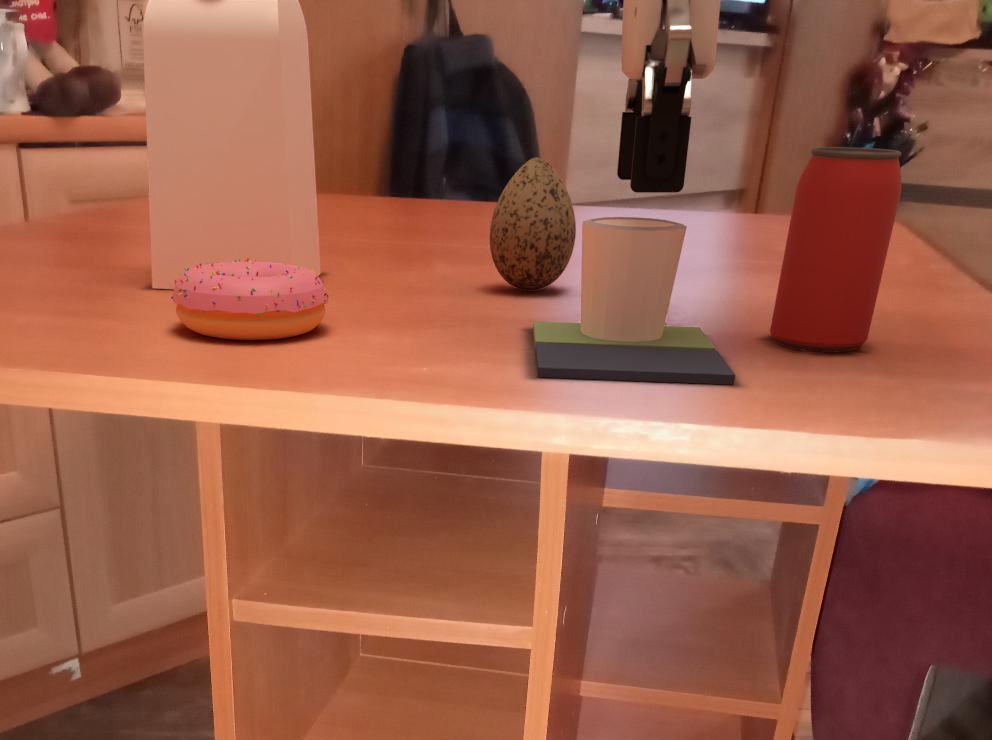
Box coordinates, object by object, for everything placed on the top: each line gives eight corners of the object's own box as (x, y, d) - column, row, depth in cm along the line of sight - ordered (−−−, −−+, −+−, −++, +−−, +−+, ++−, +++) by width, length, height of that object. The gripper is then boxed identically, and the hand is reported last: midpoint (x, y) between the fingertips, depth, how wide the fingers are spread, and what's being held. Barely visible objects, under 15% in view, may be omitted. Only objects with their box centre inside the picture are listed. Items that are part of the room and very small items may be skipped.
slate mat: (715, 359, 76) (717, 350, 76) (734, 384, 70) (735, 374, 70) (534, 352, 77) (535, 343, 77) (537, 377, 71) (538, 367, 71)
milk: (320, 273, 104) (316, -88, 90) (293, 294, 94) (283, -106, 80) (192, 268, 105) (168, -89, 91) (152, 288, 96) (118, -108, 82)
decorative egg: (564, 300, 95) (576, 162, 89) (479, 294, 96) (486, 158, 91) (575, 286, 101) (587, 156, 95) (494, 281, 102) (502, 153, 97)
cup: (686, 332, 81) (702, 221, 77) (646, 348, 76) (662, 231, 72) (597, 320, 84) (609, 213, 80) (554, 334, 79) (564, 221, 75)
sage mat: (698, 335, 83) (700, 327, 83) (713, 356, 77) (715, 347, 77) (532, 329, 84) (533, 321, 83) (534, 350, 78) (535, 340, 77)
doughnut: (232, 309, 88) (229, 250, 86) (357, 325, 84) (357, 263, 82) (142, 333, 80) (136, 268, 78) (274, 351, 76) (272, 283, 73)
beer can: (826, 357, 77) (870, 154, 71) (748, 340, 82) (782, 147, 75) (884, 347, 81) (931, 151, 74) (806, 331, 85) (844, 145, 79)
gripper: (777, -182, 58) (727, 197, 67) (723, -132, 73) (688, 175, 82) (628, -178, 59) (599, 198, 68) (603, -129, 73) (582, 175, 83)
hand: (647, 185), depth 75 cm, fingers open, 9 cm apart
